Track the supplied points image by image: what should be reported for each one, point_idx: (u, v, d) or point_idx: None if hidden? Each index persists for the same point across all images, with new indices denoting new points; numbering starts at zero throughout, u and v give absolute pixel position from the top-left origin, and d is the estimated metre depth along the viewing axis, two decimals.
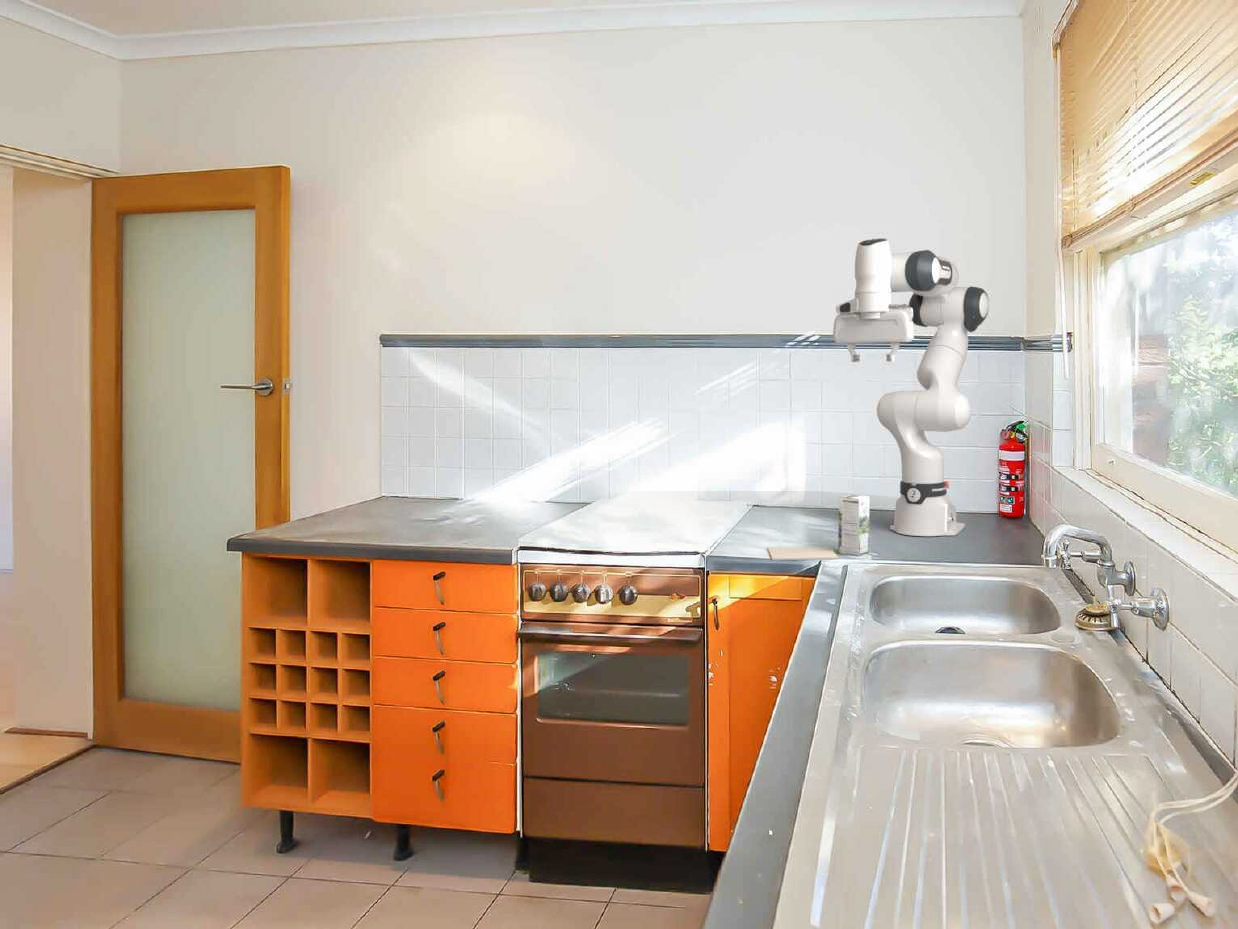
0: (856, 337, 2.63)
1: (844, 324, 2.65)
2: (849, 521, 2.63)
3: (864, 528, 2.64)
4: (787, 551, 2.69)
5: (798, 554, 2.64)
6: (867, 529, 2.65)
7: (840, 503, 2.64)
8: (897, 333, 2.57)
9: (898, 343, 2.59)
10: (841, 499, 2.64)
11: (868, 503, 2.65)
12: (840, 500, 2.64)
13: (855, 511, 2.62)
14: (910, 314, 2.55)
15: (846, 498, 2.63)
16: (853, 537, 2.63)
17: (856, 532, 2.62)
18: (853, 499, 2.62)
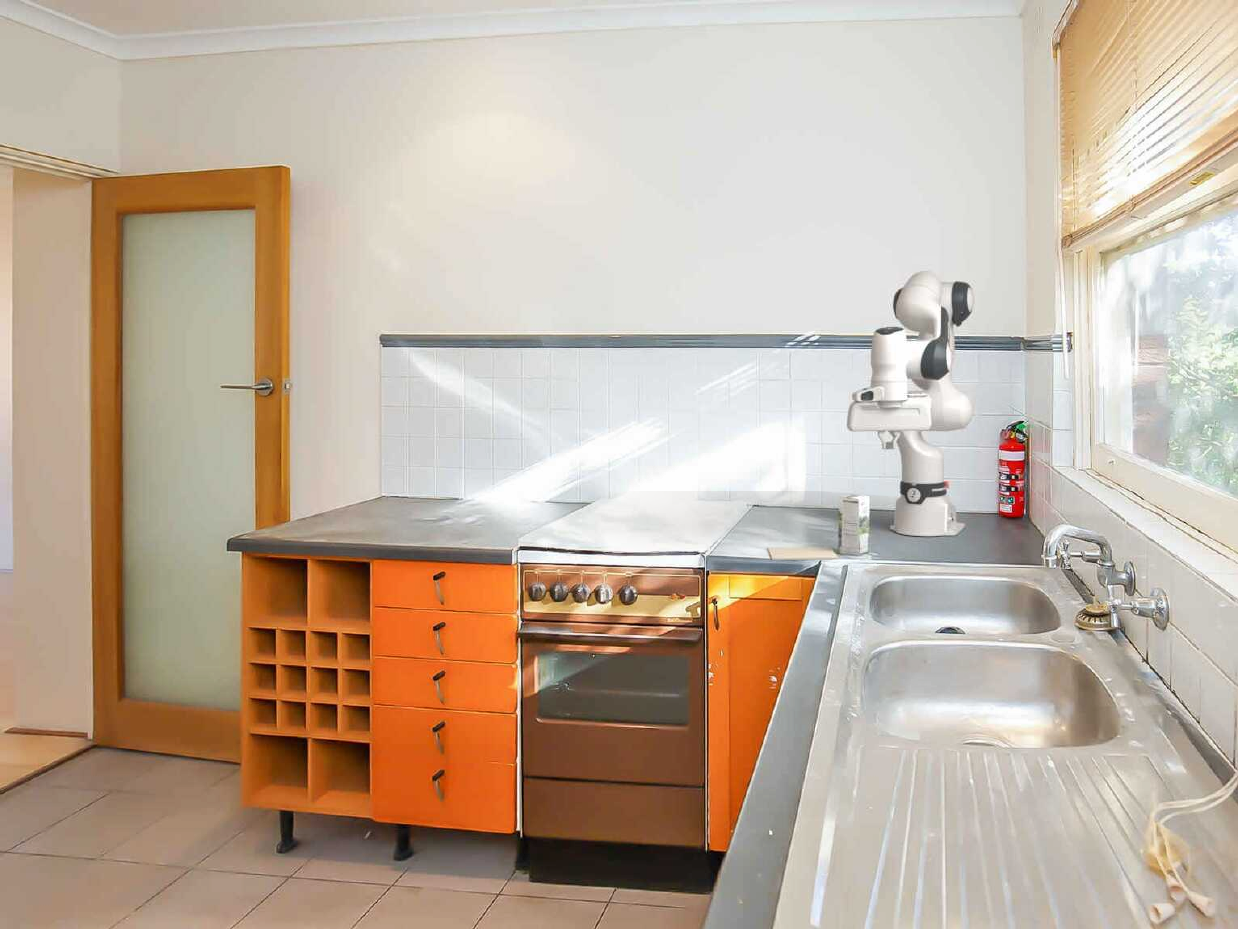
0: (876, 425, 2.60)
1: (861, 411, 2.61)
2: (849, 521, 2.63)
3: (864, 528, 2.64)
4: (787, 551, 2.69)
5: (798, 554, 2.64)
6: (867, 529, 2.65)
7: (840, 503, 2.64)
8: (920, 421, 2.60)
9: None
10: (841, 499, 2.64)
11: (868, 503, 2.65)
12: (840, 500, 2.64)
13: (855, 511, 2.62)
14: (930, 403, 2.61)
15: (846, 498, 2.63)
16: (853, 537, 2.63)
17: (856, 532, 2.62)
18: (853, 499, 2.62)
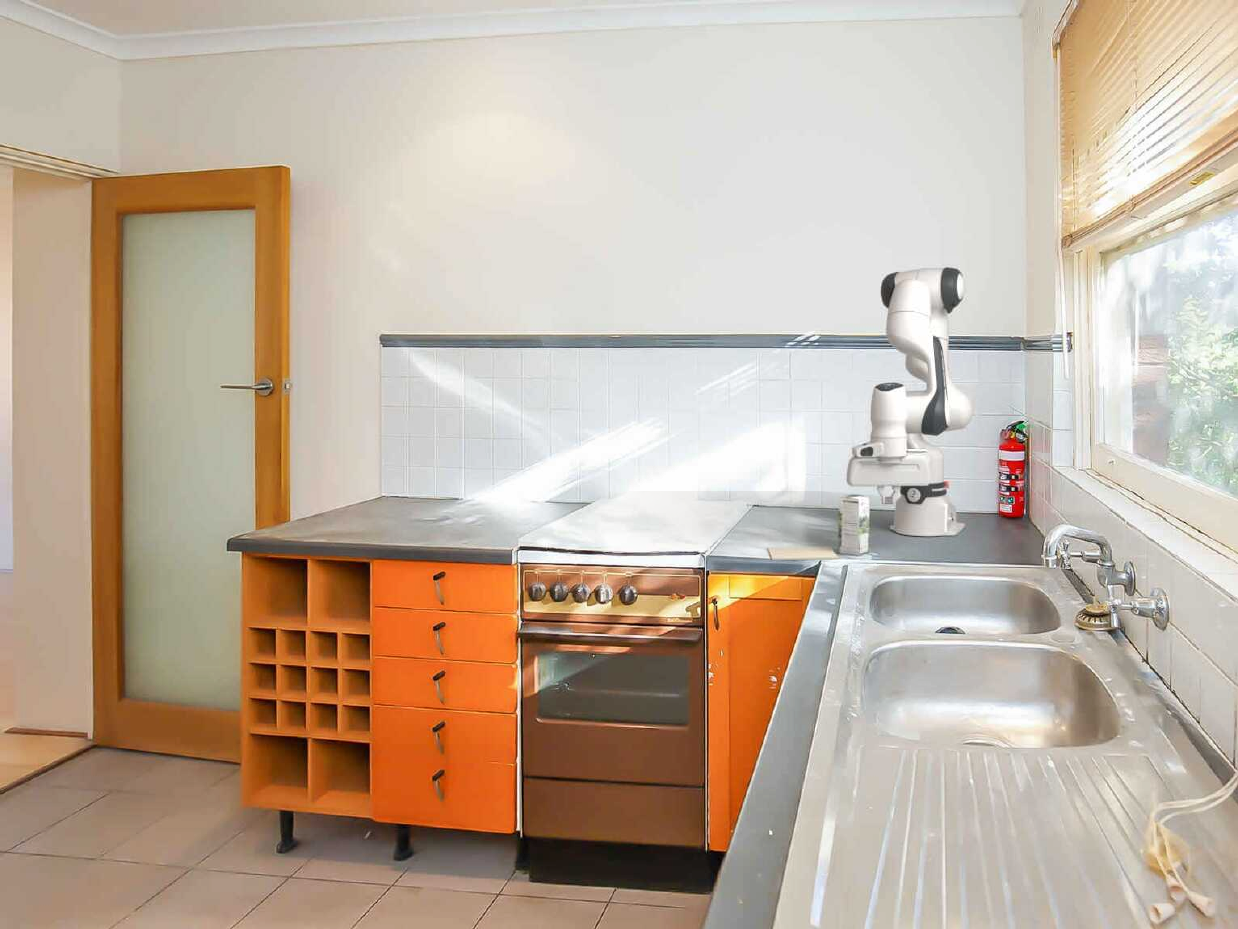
0: (875, 481, 2.62)
1: (861, 467, 2.62)
2: (849, 521, 2.63)
3: (864, 528, 2.64)
4: (787, 551, 2.69)
5: (798, 554, 2.64)
6: (867, 529, 2.65)
7: (840, 503, 2.64)
8: (919, 477, 2.61)
9: None
10: (841, 499, 2.64)
11: (868, 503, 2.65)
12: (840, 500, 2.64)
13: (855, 511, 2.62)
14: (929, 458, 2.62)
15: (846, 498, 2.63)
16: (853, 537, 2.63)
17: (856, 532, 2.62)
18: (853, 499, 2.62)
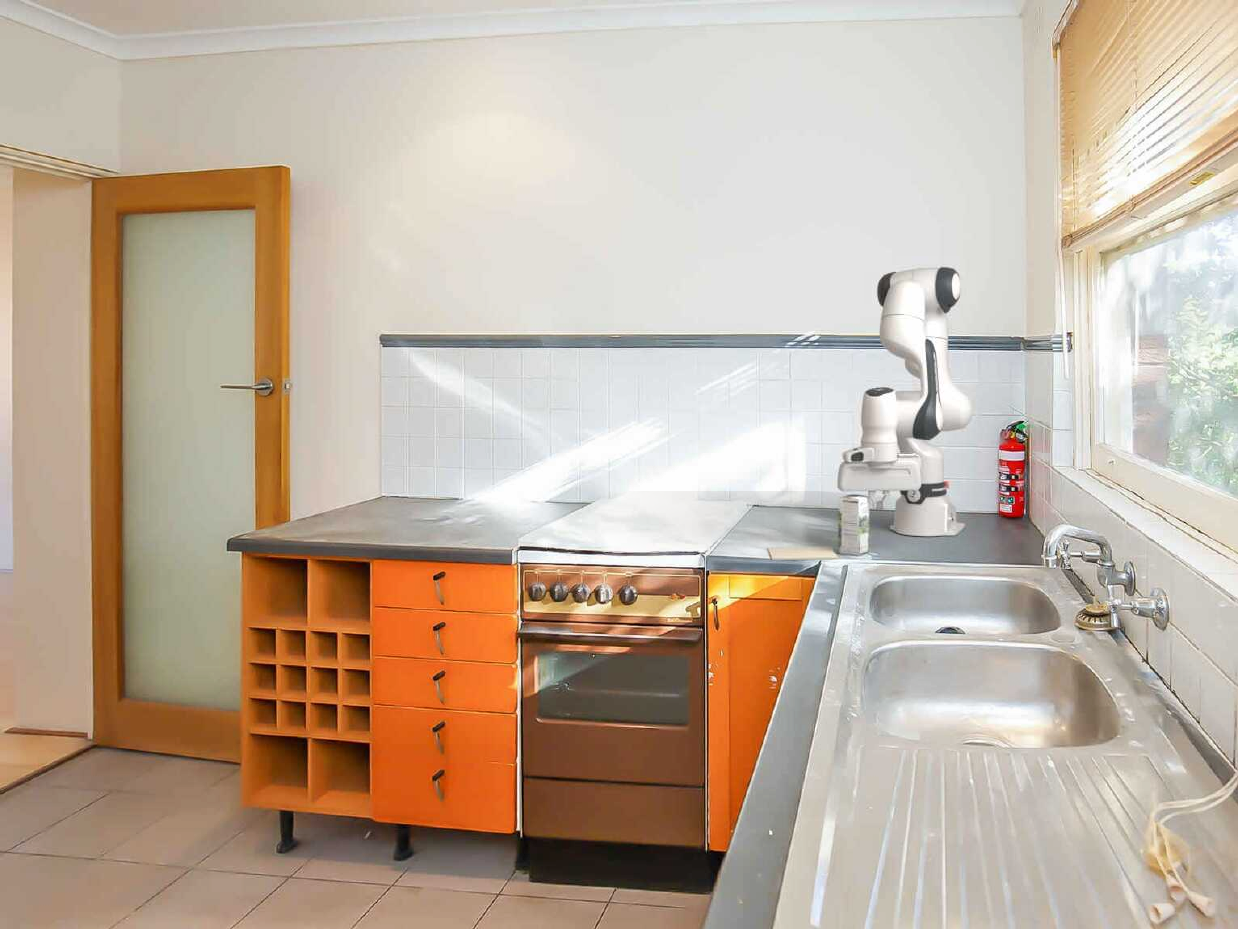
0: (866, 486, 2.62)
1: (851, 472, 2.62)
2: (849, 521, 2.63)
3: (864, 527, 2.64)
4: (787, 551, 2.69)
5: (798, 554, 2.64)
6: (867, 529, 2.65)
7: (840, 503, 2.64)
8: (910, 482, 2.62)
9: None
10: (841, 499, 2.64)
11: (868, 503, 2.65)
12: (840, 500, 2.64)
13: (855, 511, 2.62)
14: (920, 463, 2.62)
15: (846, 498, 2.63)
16: (853, 537, 2.63)
17: (856, 532, 2.62)
18: (853, 499, 2.62)
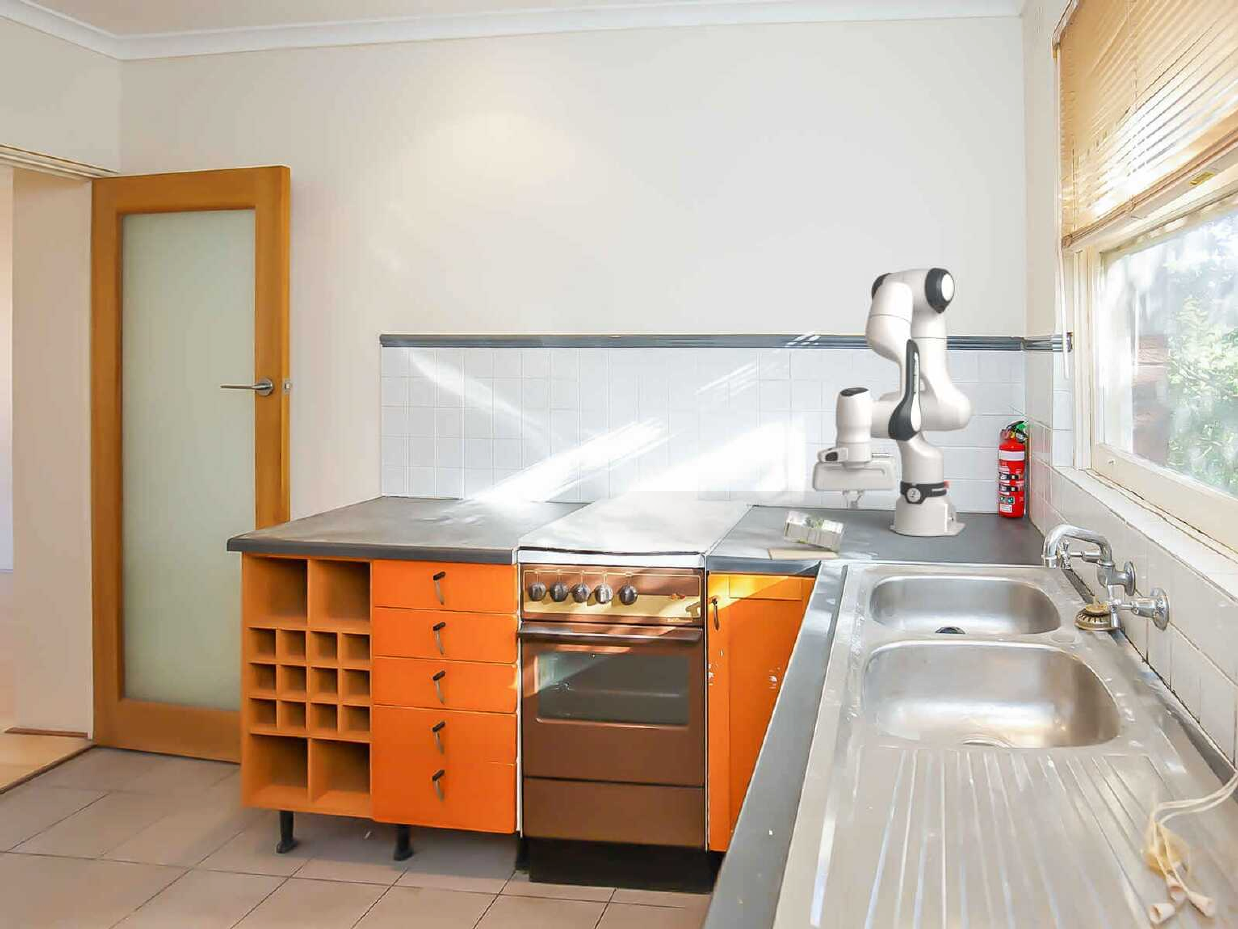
0: (840, 486, 2.62)
1: (826, 472, 2.63)
2: (806, 535, 2.66)
3: (817, 522, 2.67)
4: (787, 551, 2.69)
5: (798, 554, 2.64)
6: (820, 519, 2.68)
7: (788, 539, 2.69)
8: (884, 482, 2.62)
9: None
10: (784, 537, 2.69)
11: (795, 512, 2.70)
12: (785, 538, 2.69)
13: (797, 527, 2.66)
14: (894, 463, 2.63)
15: (783, 532, 2.68)
16: (822, 535, 2.65)
17: (817, 531, 2.65)
18: (785, 526, 2.67)
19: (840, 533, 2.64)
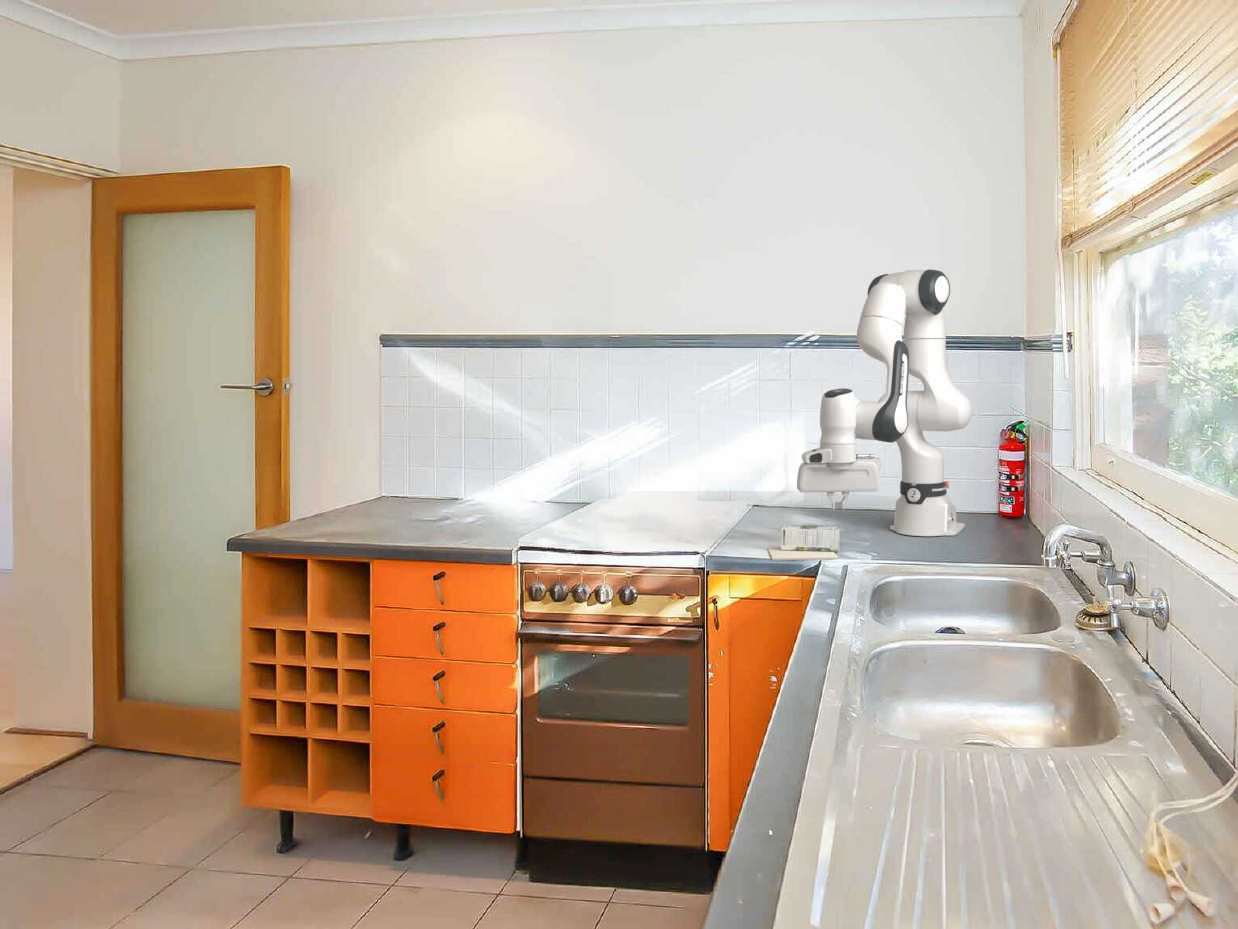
0: (825, 487, 2.63)
1: (810, 473, 2.63)
2: (803, 539, 2.68)
3: (811, 526, 2.70)
4: (787, 551, 2.69)
5: (798, 554, 2.64)
6: (815, 525, 2.71)
7: (786, 548, 2.69)
8: (868, 483, 2.62)
9: None
10: (782, 547, 2.70)
11: (789, 525, 2.73)
12: (783, 548, 2.69)
13: (793, 532, 2.68)
14: (878, 464, 2.63)
15: (781, 541, 2.70)
16: (819, 535, 2.67)
17: (814, 531, 2.67)
18: (781, 534, 2.69)
19: (836, 529, 2.66)
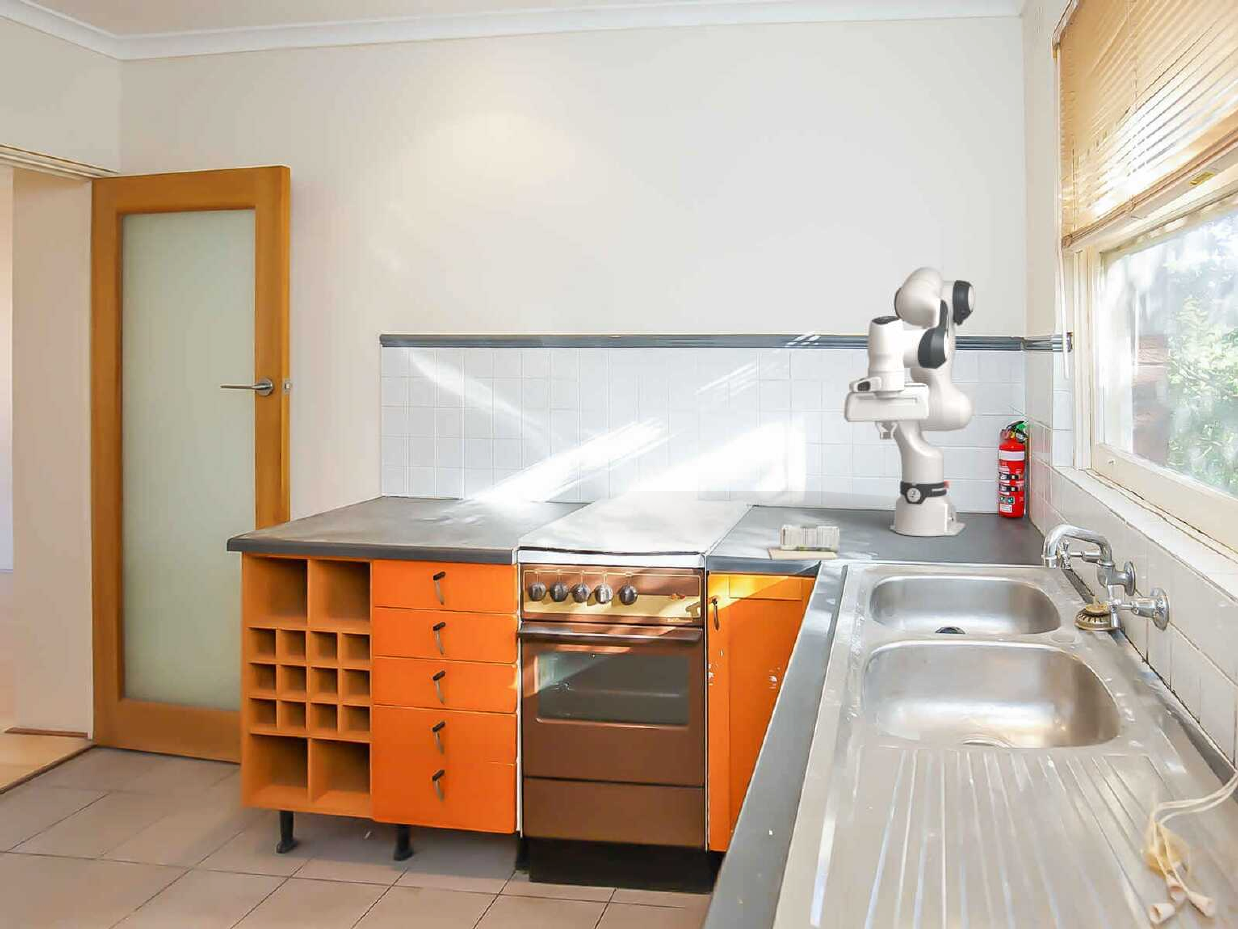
0: (873, 416, 2.59)
1: (858, 402, 2.60)
2: (803, 538, 2.68)
3: (812, 526, 2.70)
4: (787, 551, 2.69)
5: (798, 554, 2.64)
6: (815, 526, 2.72)
7: (786, 547, 2.69)
8: (917, 411, 2.59)
9: None
10: (782, 546, 2.70)
11: (789, 525, 2.74)
12: (783, 547, 2.70)
13: (793, 532, 2.69)
14: (927, 392, 2.59)
15: (781, 541, 2.70)
16: (819, 534, 2.67)
17: (814, 531, 2.67)
18: (781, 534, 2.69)
19: (836, 529, 2.66)
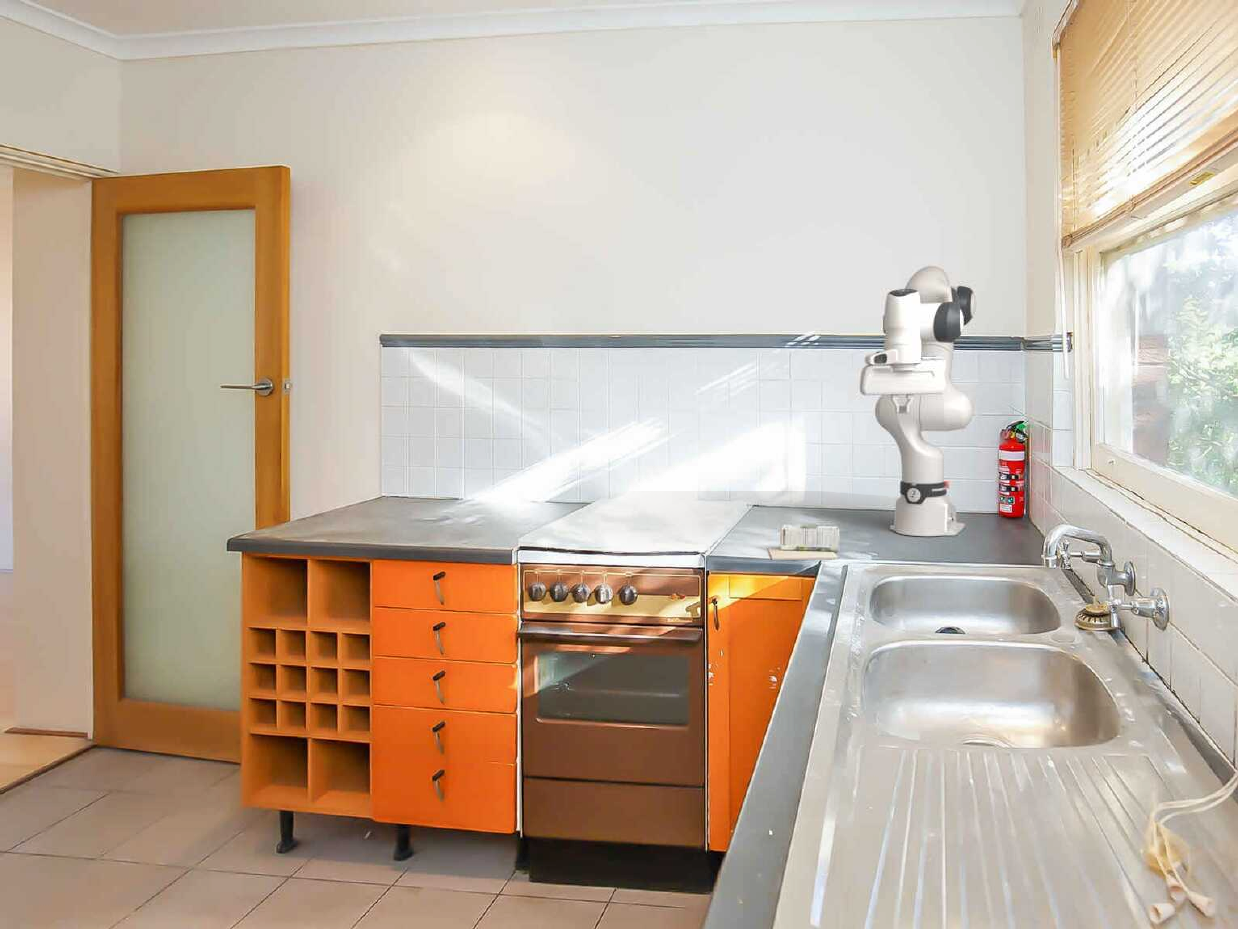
0: (889, 389, 2.57)
1: (874, 375, 2.57)
2: (803, 538, 2.68)
3: (812, 526, 2.70)
4: (787, 551, 2.69)
5: (798, 554, 2.64)
6: (815, 526, 2.72)
7: (786, 547, 2.69)
8: (934, 385, 2.56)
9: None
10: (782, 546, 2.70)
11: (789, 525, 2.74)
12: (783, 547, 2.70)
13: (793, 532, 2.69)
14: (944, 366, 2.57)
15: (781, 541, 2.70)
16: (819, 534, 2.67)
17: (814, 531, 2.67)
18: (781, 534, 2.69)
19: (836, 529, 2.66)
